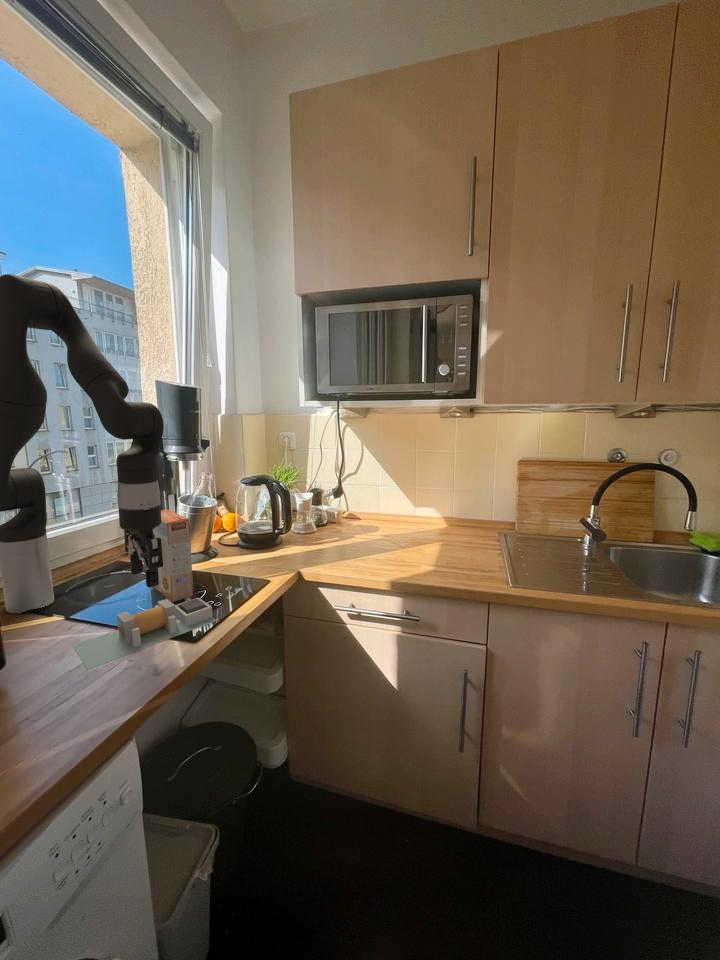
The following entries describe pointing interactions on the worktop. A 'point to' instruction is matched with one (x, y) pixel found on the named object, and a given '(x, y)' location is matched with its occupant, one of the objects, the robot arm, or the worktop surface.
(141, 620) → the tan and white bar
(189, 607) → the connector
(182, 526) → the cracker box
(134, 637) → the board
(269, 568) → the worktop surface
